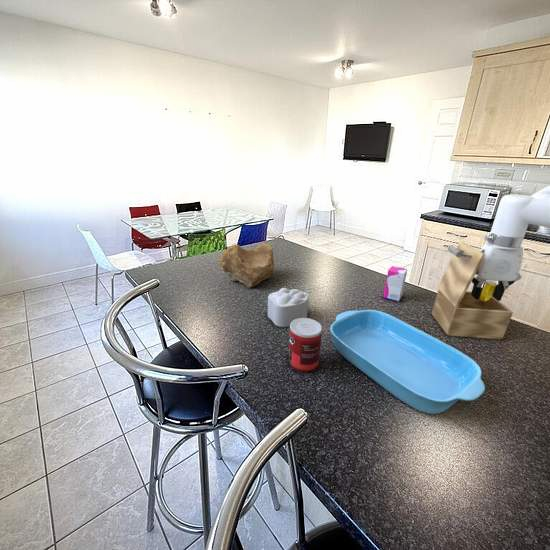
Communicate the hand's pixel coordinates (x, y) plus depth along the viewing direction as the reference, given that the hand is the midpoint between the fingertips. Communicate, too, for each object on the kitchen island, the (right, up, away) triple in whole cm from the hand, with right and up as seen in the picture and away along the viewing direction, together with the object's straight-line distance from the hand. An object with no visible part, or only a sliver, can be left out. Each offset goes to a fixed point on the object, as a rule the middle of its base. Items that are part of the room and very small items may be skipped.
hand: (485, 297), depth 89 cm
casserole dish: (-34, -17, -14) cm, 40 cm away
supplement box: (-20, -2, +22) cm, 29 cm away
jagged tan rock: (-74, +4, +32) cm, 80 cm away
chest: (-3, -9, +4) cm, 11 cm away
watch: (0, -1, 0) cm, 1 cm away
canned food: (-57, -16, -13) cm, 60 cm away
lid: (-9, +7, -2) cm, 12 cm away
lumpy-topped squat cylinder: (-59, -7, +8) cm, 60 cm away
